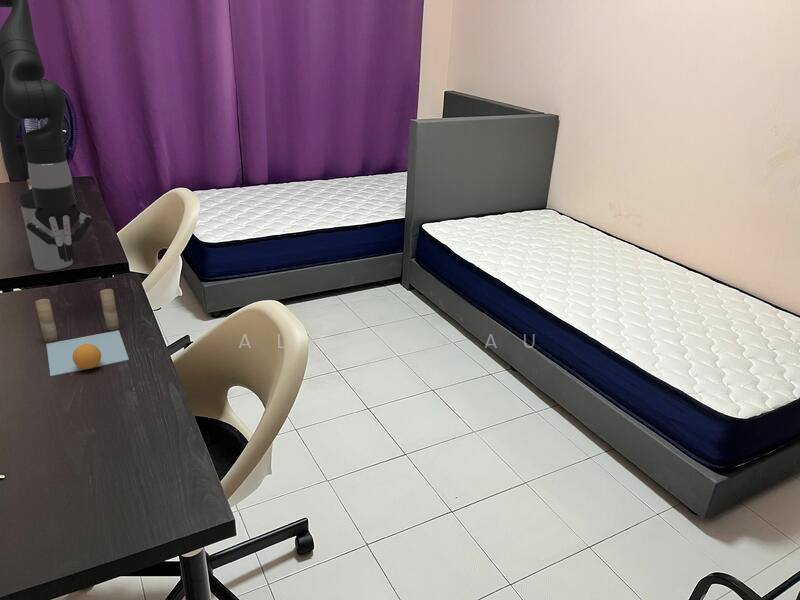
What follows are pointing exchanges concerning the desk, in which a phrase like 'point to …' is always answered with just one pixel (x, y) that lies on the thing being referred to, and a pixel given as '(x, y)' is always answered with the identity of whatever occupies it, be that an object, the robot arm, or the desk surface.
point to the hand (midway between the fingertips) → (67, 260)
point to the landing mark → (106, 342)
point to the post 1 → (46, 320)
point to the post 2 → (109, 309)
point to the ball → (86, 356)
